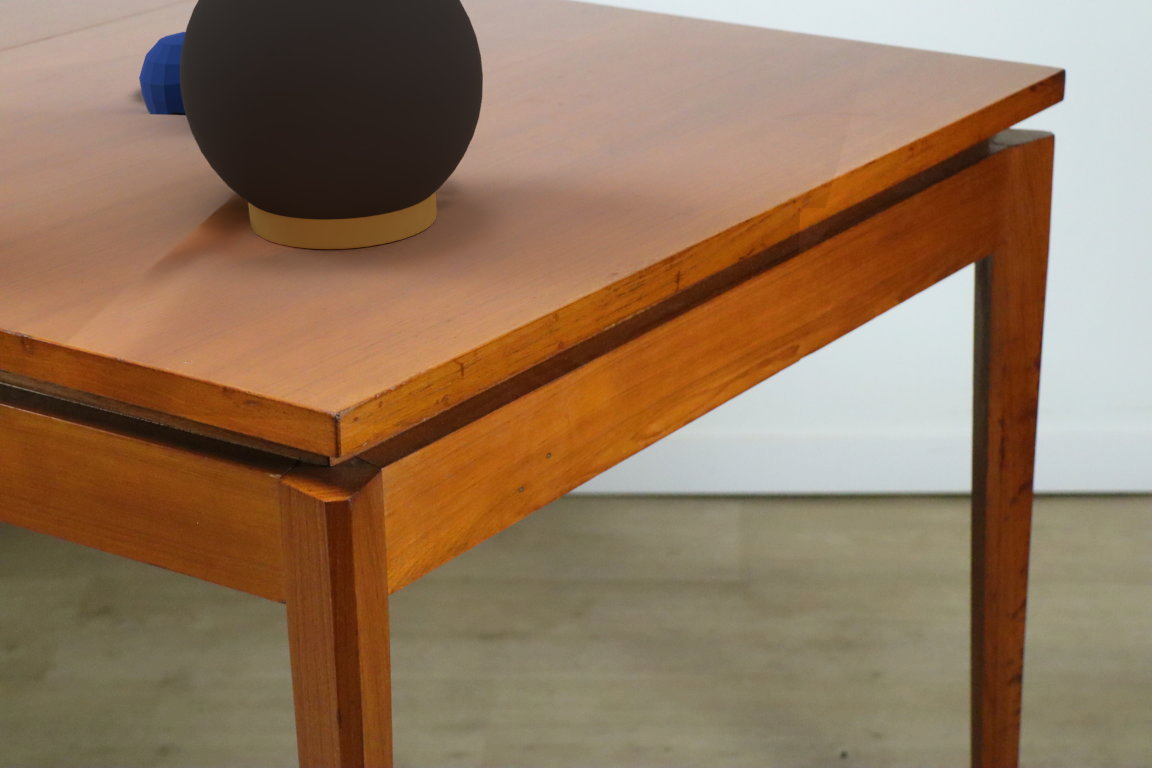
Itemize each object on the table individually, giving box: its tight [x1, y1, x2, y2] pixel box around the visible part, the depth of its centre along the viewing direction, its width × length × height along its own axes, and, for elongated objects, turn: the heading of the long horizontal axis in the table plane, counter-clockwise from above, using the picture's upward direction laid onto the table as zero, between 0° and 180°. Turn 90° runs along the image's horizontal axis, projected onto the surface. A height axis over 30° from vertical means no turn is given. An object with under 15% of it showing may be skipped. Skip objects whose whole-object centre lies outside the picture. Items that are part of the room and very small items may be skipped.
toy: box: [138, 31, 186, 116], centre depth 89 cm, size 7×6×15 cm
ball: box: [180, 0, 484, 250], centre depth 71 cm, size 14×14×14 cm
